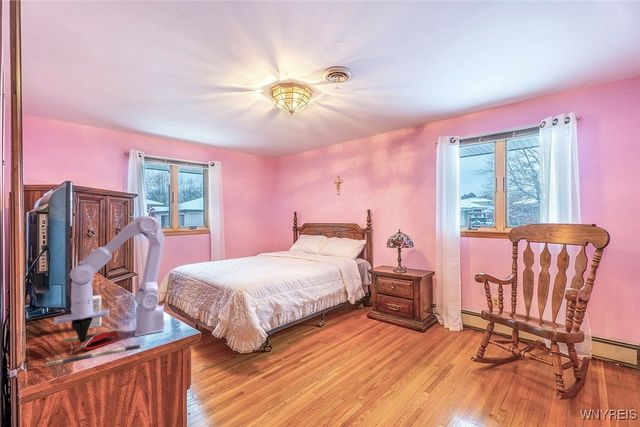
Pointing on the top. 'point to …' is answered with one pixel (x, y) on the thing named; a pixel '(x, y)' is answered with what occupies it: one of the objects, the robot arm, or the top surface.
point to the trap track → (93, 353)
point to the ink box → (96, 306)
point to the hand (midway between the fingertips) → (82, 341)
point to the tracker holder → (98, 337)
